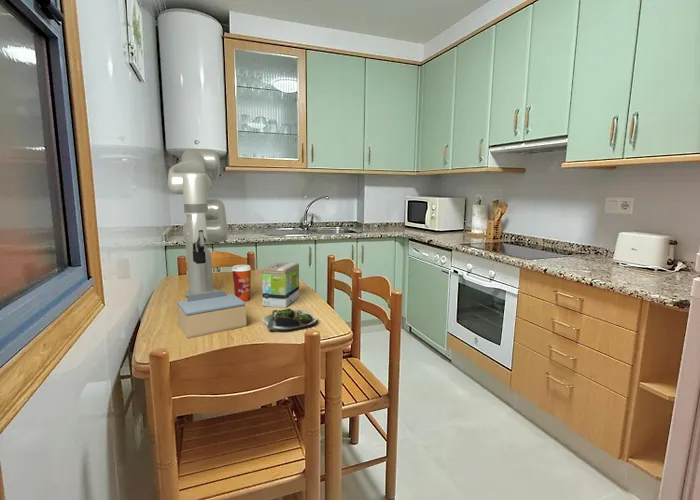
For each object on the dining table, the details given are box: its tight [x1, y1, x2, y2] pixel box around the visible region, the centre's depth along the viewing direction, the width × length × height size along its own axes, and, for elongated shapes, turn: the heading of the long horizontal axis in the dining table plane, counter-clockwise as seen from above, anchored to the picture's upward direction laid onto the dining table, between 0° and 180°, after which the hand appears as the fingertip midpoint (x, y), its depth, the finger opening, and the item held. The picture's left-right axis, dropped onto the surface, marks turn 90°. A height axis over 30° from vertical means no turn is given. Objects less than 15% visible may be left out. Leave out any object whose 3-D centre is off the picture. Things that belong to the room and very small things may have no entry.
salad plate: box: [262, 307, 318, 333], centre depth 126 cm, size 19×18×5 cm
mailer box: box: [176, 303, 248, 339], centre depth 122 cm, size 14×18×7 cm
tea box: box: [261, 262, 300, 309], centre depth 148 cm, size 15×10×15 cm
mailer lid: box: [176, 289, 247, 315], centre depth 121 cm, size 14×18×3 cm
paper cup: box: [231, 264, 252, 303], centre depth 150 cm, size 8×8×14 cm
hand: (199, 262), depth 130 cm, fingers open, 3 cm apart
